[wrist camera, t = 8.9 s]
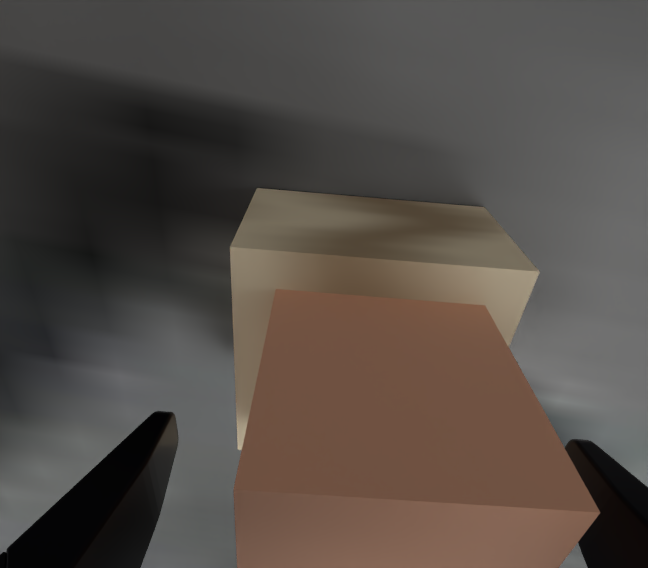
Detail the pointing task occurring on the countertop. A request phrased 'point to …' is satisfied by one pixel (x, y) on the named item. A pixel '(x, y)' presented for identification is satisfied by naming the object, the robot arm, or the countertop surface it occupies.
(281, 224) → the birch block
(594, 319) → the countertop surface
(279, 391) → the terracotta cube
